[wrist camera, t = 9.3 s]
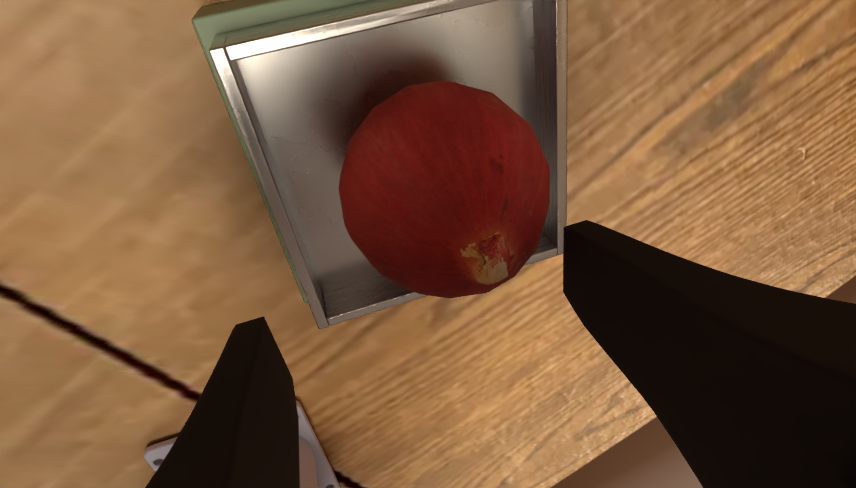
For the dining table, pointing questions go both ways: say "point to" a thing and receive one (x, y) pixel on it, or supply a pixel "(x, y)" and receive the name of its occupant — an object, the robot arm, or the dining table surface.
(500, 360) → the dining table surface
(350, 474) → the dining table surface
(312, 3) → the scale
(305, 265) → the pan
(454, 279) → the onion
